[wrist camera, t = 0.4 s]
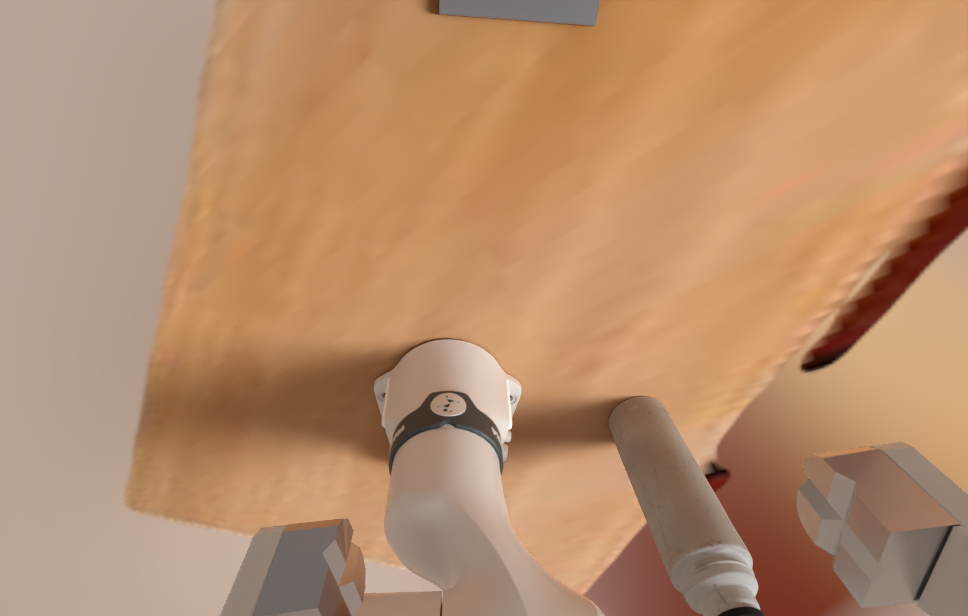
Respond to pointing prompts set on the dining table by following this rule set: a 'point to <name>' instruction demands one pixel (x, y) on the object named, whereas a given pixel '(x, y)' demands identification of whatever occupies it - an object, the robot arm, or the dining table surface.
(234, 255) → the dining table surface
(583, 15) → the grey flat rectangular block
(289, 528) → the robot arm
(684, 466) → the thermos bottle
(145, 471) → the dining table surface
